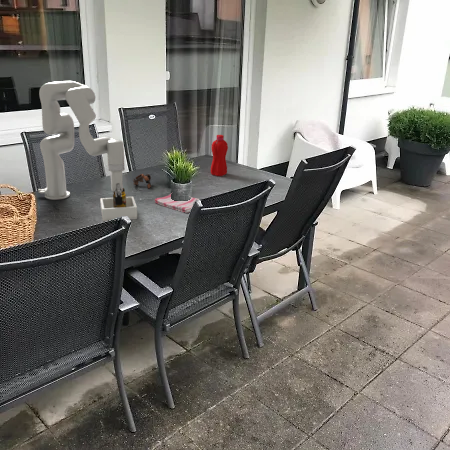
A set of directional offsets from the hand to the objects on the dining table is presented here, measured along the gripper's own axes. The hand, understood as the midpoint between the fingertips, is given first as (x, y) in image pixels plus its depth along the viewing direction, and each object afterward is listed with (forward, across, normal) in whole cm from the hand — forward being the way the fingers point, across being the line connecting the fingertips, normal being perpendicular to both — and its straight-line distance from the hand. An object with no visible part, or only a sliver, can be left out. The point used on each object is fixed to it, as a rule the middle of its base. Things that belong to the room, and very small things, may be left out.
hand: (118, 201), depth 227 cm
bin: (+7, 0, 0) cm, 7 cm away
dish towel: (+8, -8, +33) cm, 35 cm away
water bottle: (+7, -55, +66) cm, 86 cm away
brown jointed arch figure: (+7, -41, +18) cm, 45 cm away
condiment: (+6, 0, 0) cm, 6 cm away
